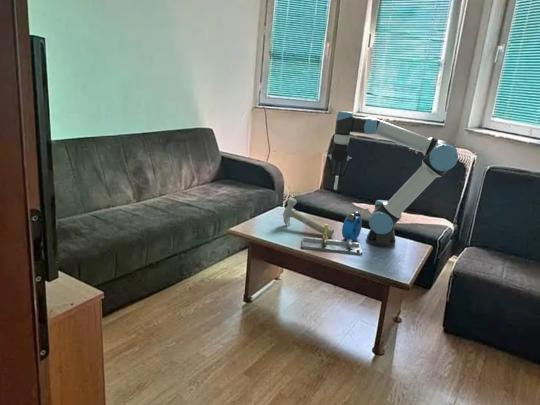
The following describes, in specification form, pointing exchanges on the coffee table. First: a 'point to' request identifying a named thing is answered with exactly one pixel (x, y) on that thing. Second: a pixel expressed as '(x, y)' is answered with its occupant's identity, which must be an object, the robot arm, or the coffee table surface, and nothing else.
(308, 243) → the bolt plate
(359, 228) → the alarm clock
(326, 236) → the sliding leg
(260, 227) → the coffee table surface
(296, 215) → the hammer
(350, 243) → the bar
